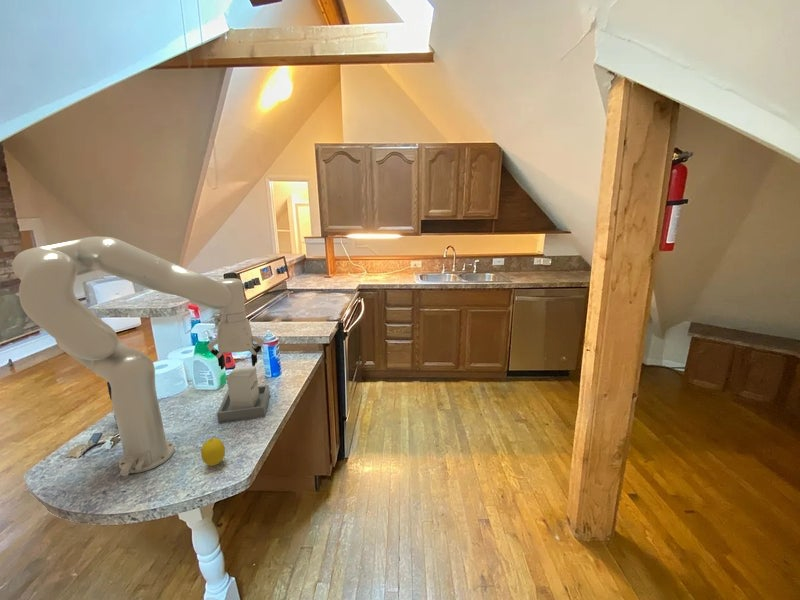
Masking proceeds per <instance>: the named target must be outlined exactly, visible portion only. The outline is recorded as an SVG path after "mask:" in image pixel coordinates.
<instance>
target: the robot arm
mask: <svg viewBox="0 0 800 600" xmlns="http://www.w3.org/2000/svg"><path fill="white" fill-rule="evenodd" d="M12 270H13V271H12V272H13V273H14V274H15V276H16V278H18V279H19V280H20V282H19V287H18V288H19V289H18V295H19V297H18V299H19V302H20V306H21V308H22V310H23V311H24V313H25V314H26V315H27V316H28V318H29V319H30V320H31V321H33V322H34V323H35V324H36V325H38V327H40V328H41V329H43V331H45V332H46V333H47V334H48V335H50V336H51V337H52V338H54V339H55V343H56V344H57V346H58V347H59V348H60V349H61V350H62V351H64V353H66V354H67V355H69V356H70V357H71V358H73V359H74V360H76V361H77V362H78V363H79V364H81V365H82V366H84V367H86V368H87V369H88V370H90V371H91V372H93V373H94V374H95V375H96V376H98V377H100V378H102V379H104V380H105V381H107V382H109V383H110V386H111V399H112V401H111V404H112V405H111V406H112V408H113V409H112V410H113V415H114V414H115V417H114V419H115V418H116V420H115V422H117V423H116V427H117V426H118V427H117V431H118V433H119V439H120V443H121V446H122V450H123V456H122V457H120V459H119V462H118V467H119V470H120V471H119V474H120V476H123V477H125V476H128V475H129V474H137V473H142V472H143V473H144V472H147V471H149V470H152V469H154V468H157V467H158V466H160V465H162V464H163V463H165V462H167V461H168V460H170V458H171V457H172V456H173V454H174V453H175V445H174V443H173V442H172V441H170V440H167V439H166V438H167V437H166V433H165V428H164V423H163V419H162V414H161V408H160V404H159V400H158V395H157V390H156V388H157V387H156V369H155V365H154V362H153V361H152V359H151V358H150V356H148V355H147V354H146V353H144V352H142V351H140V350H138V349H135V348H133V347H130V346H128V345H127V344H125V343H124V342H122V341H121V340H120V339H119V337H118V335H117V333H116V331H115V329H114V328H112V327H111V325H109V324H107V323H106V322H104V321H103V320H102V319H101V318H99V317H98V316H97V315H96V314H95V313H93V312H92V311H91V310H90V309H89V308H88V307H86V305H84V303H82V302H81V301H80V300H79V299H78V297H77V296H76V294H75V291H74V285H75V281H76V279H77V277H78V276H82V275H86V274H89V273H91V272H96V271H101V272H104V273H106V274H108V275H112V276H115V277H117V278H121V279H122V280H125V281H128V282H131V283H133V284H137V285H139V286H141V287H145V288H146V289H150V290H153V291H156V292H159V293H163V294H169V295H172V296H173V295H174V296H177V297H181V298H183V299H184V298H185V299H187V300H189V301H190V303H192V304H193V305H195V306H198V307H199V306H200V307H204V308H209V309H213V310H219V313H218V314H217V313H216V314H215V315H214V318H215V319H218V320H219V322H217V330H216V331H217V332H216V333H217V339H214V340H213V341H211V342H210V343H208V344H207V345H206V347H207V349H208V351H210V353H211V354H212V355H214V356H215V357H216V359H217V362H218V367H220V370H223V369H224V368H225V367H226V360H225V355H224V354H231V353H242V352H243V353H245V352H249V353H251V356H250V357H251V367H256V364H257V363H258V353H259V352H260V350H261V349H262V348H263V346H264V343H265V340H264V339H262V338H259V337H256V336H254V335H253V332H252V327H251V325H250V321H249V319H248V318H247V314H246V305H245V293H244V286H243V285H244V284H243V281H242V280H241V279H240V278H234V277H233V278H231V277H230V278H222V279H219V280H215V279H212V278H210V277H208V276H205V275H203V274H200V273H197V272H195V271H193V270H190V269H187V268H185V267H183V266H181V265H179V264H177V263H174V262H172V261H171V262H170V261H168V260H166V259H164V258H162V257H159V256H158V255H154V254H152V253H150V252H148V251H146V250H144V249H141V248H139V247H137V246H134V245H132V244H130V243H128V242H125V241H124V240H121V239H118V238H115V237H111V236H96V235H95V236H87V237H82V238H79V239H73V240H69V241H64V242H58V243H57V242H56V243H54V244H48V245H42V246H38V247H31V248H28V249H25V250H23V251H21V252H20V253H17V255H16V256H15V257H14V259H13V260H12ZM254 343H258V345H257V346H256V347H255V346H254ZM216 345H217V348H218V349H216V348H215V346H216ZM111 399H110V400H111Z"/></svg>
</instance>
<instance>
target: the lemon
mask: <svg viewBox="0 0 800 600" xmlns="http://www.w3.org/2000/svg"><path fill="white" fill-rule="evenodd" d="M200 455H201V459H202V461H203V463H205V465H206V466H207V465H208V466H211V467H212V466H217V465H218V464H220V463H221V462H222V461H223V459H224V458H225V456H226V448H225V445H224V443H223V441H222V440H220V438H216V437H215V438H214V437H213V438H212V437H211V438H209V439H208V440H206V441H205V442H204V443H203V444H202V447H201V453H200Z"/></svg>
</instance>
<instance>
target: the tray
mask: <svg viewBox="0 0 800 600" xmlns="http://www.w3.org/2000/svg"><path fill="white" fill-rule="evenodd" d="M258 388H259V397H260V399H259V400H258V402H257V403H256V405H255V406H254V407H251V408H244V409H236V410H231V404H230V397H229V390H228V389H227V391H226V393H225V395H224V398H223V399H222V402H221V404H220V406H219V409H218V410H217V413H216V417H217V422H218V424H223V423H222V422H225V423H230V422H238V421H244V420H245V421H246V420H251V419H258V418H265V415H266V412H267V408H268V403H269V399H270V394H271V392H270V385H269V384H265V385H258Z"/></svg>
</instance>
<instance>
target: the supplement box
mask: <svg viewBox="0 0 800 600" xmlns="http://www.w3.org/2000/svg"><path fill="white" fill-rule="evenodd" d="M226 380H227V391H228V390H229V397H230V404H231V410H236V409H244V408H251V407H254V406H255V405H256V403H257V402H258V400H259V399H260V397H259V388H258V386H259V382H258V381H259V380H258V374H257V366H254V367H253V366H240V367H239V366H238V367H234V368H233V369H232V371H230V373H229V374H228V375H227V376H226Z"/></svg>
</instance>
